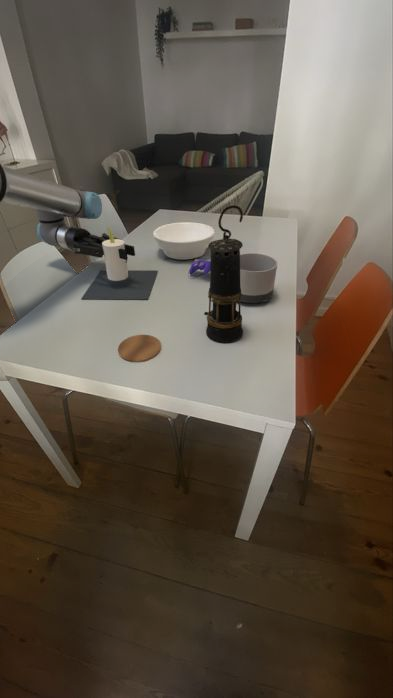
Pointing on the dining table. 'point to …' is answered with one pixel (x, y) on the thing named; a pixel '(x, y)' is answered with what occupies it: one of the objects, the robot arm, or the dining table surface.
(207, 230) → the bowl
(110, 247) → the candle
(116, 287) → the placemat
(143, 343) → the coaster
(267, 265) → the planter
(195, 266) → the game controller
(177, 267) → the dining table surface
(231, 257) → the lantern
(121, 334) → the dining table surface
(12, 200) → the robot arm
